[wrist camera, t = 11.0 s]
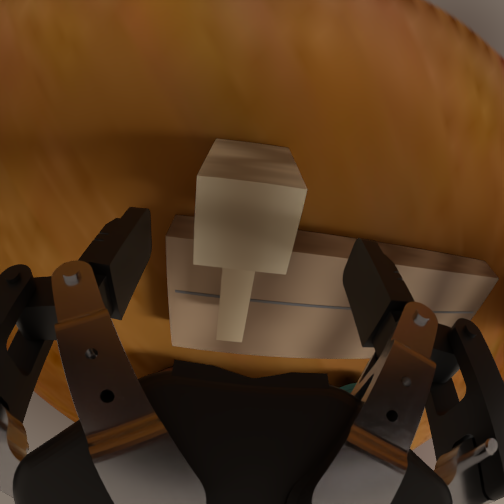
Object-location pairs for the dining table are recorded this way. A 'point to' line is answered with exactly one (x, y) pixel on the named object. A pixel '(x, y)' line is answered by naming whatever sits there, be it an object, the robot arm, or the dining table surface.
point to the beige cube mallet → (245, 221)
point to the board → (310, 296)
